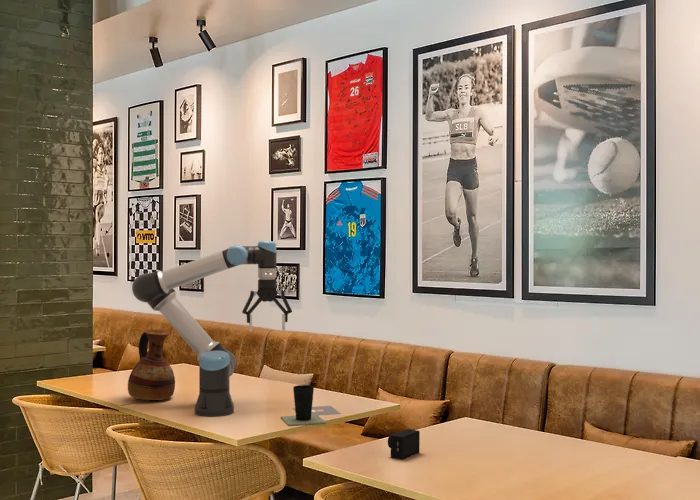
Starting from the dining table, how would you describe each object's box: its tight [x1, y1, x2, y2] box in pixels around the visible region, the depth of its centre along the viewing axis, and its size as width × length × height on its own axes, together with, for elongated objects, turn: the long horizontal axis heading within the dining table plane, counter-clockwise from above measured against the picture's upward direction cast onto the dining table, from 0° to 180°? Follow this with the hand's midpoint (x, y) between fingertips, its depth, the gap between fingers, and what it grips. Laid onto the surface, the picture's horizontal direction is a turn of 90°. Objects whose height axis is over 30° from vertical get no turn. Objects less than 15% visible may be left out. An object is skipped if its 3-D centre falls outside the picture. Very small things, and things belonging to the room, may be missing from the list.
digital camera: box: [387, 428, 421, 461], centre depth 231 cm, size 10×5×7 cm, turn 145°
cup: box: [293, 384, 315, 421], centre depth 279 cm, size 8×8×12 cm
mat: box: [280, 414, 327, 427], centre depth 279 cm, size 14×14×1 cm
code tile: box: [292, 405, 342, 416], centre depth 297 cm, size 16×16×1 cm
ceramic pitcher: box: [127, 328, 176, 401], centre depth 321 cm, size 20×20×30 cm
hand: (267, 330), depth 307 cm, fingers open, 13 cm apart
